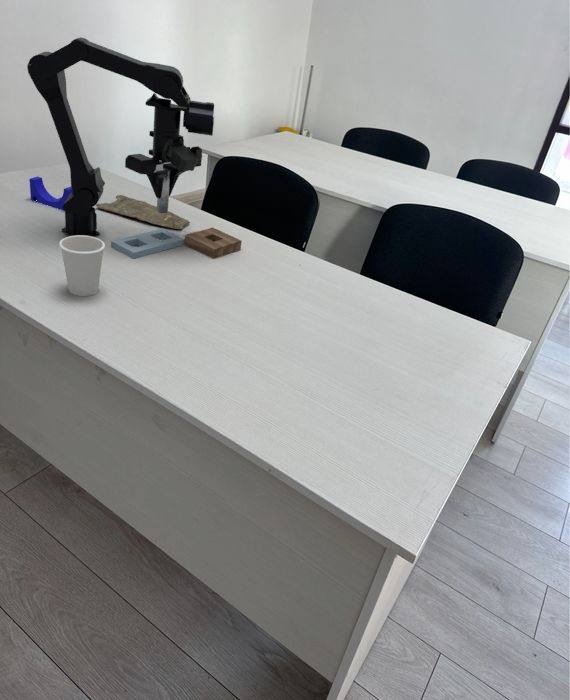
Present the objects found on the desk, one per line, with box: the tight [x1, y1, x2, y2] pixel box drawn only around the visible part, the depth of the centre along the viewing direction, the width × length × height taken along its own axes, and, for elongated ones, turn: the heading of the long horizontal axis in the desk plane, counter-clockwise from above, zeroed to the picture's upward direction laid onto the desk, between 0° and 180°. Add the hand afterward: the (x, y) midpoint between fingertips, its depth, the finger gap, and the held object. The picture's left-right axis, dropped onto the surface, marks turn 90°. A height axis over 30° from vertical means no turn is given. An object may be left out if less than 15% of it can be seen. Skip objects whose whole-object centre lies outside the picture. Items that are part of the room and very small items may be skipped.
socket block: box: [184, 227, 243, 259], centre depth 145 cm, size 10×10×2 cm
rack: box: [110, 227, 185, 259], centre depth 140 cm, size 16×8×2 cm, turn 143°
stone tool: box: [95, 194, 191, 231], centre depth 156 cm, size 11×3×25 cm
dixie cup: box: [58, 235, 106, 297], centre depth 115 cm, size 8×8×10 cm
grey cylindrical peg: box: [156, 168, 170, 213], centre depth 137 cm, size 3×3×10 cm
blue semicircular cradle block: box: [28, 176, 72, 212], centre depth 152 cm, size 12×4×6 cm, turn 70°
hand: (163, 197), depth 138 cm, fingers closed on grey cylindrical peg, 3 cm apart
